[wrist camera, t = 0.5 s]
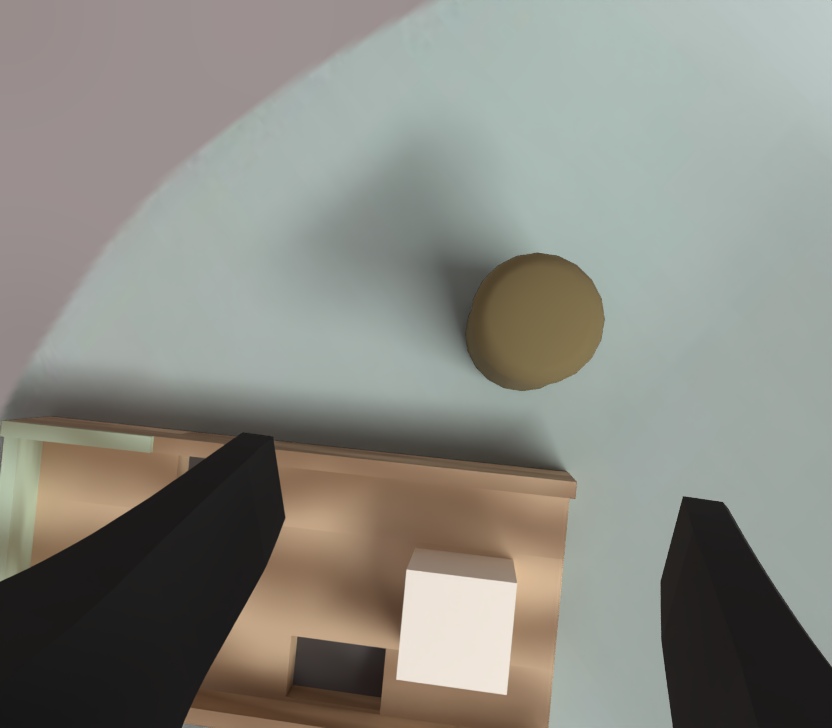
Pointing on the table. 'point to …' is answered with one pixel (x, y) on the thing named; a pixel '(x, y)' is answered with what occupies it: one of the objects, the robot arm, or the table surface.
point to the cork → (534, 322)
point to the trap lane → (316, 567)
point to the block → (457, 621)
